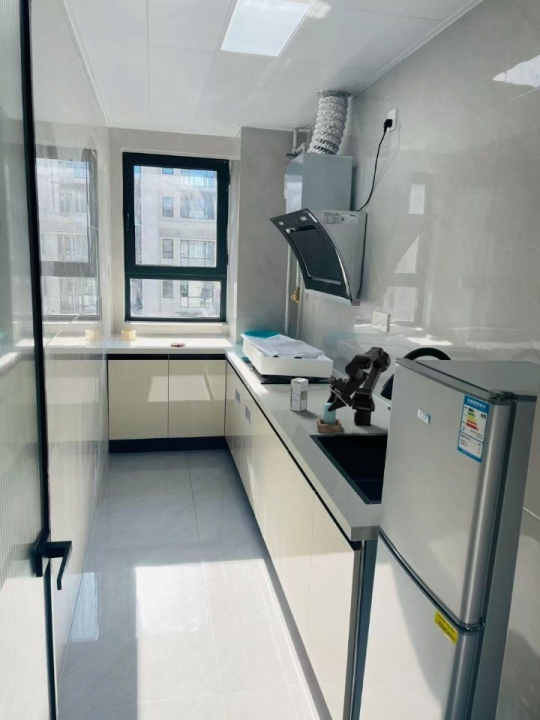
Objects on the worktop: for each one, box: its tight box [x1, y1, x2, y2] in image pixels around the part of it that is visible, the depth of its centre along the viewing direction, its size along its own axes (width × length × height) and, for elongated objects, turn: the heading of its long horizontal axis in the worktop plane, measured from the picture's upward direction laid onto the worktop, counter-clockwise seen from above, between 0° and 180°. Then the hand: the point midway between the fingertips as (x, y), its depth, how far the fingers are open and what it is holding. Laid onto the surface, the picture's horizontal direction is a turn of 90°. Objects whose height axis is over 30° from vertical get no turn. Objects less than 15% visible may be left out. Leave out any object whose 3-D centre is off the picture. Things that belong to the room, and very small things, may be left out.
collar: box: [316, 418, 343, 433], centre depth 228 cm, size 9×9×3 cm
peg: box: [322, 402, 337, 425], centre depth 228 cm, size 5×5×9 cm
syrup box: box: [289, 377, 309, 413], centre depth 256 cm, size 6×6×14 cm
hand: (326, 409), depth 227 cm, fingers closed on peg, 5 cm apart
